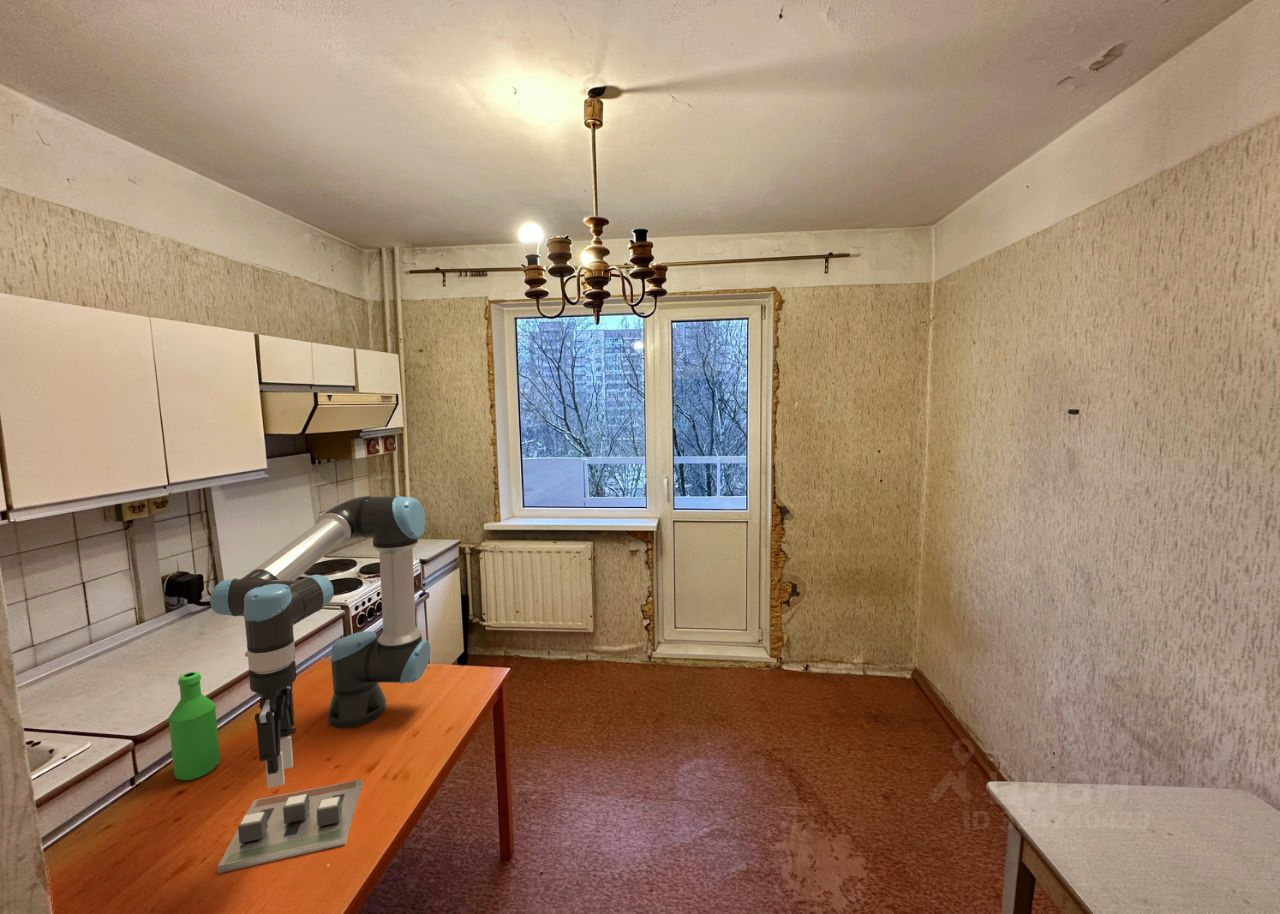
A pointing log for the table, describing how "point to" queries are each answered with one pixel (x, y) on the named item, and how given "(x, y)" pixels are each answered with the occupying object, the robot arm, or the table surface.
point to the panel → (293, 828)
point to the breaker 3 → (329, 811)
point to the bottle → (193, 731)
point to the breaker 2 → (296, 808)
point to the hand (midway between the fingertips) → (280, 776)
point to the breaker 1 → (252, 827)
